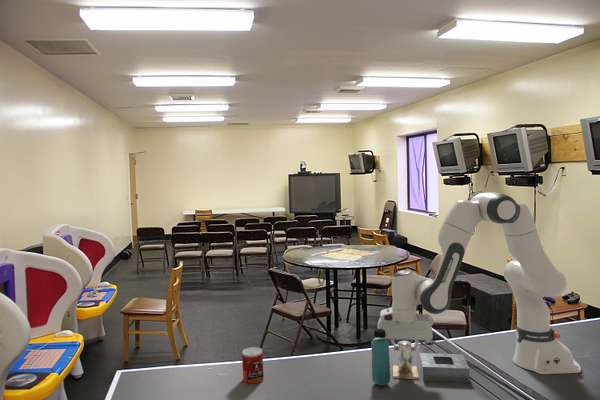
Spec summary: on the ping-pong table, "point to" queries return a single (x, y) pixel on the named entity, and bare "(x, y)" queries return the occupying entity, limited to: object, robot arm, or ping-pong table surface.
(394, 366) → the oak pad
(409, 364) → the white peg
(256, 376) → the canned food
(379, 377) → the beverage bottle
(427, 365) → the block
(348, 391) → the ping-pong table surface
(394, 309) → the robot arm
